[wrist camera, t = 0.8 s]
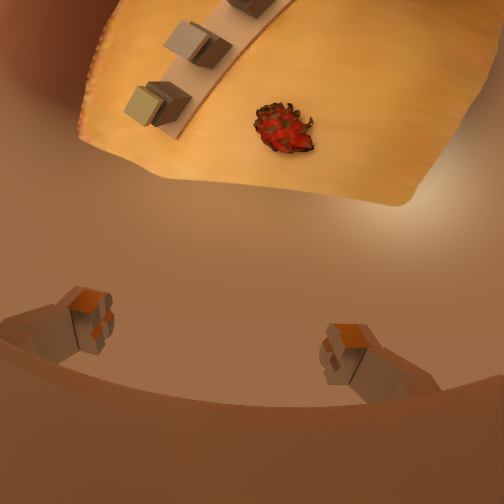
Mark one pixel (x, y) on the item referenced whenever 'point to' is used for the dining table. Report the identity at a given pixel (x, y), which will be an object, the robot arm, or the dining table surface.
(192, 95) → the button console
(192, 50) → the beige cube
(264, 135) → the dragon fruit
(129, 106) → the sage button
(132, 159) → the dining table surface
